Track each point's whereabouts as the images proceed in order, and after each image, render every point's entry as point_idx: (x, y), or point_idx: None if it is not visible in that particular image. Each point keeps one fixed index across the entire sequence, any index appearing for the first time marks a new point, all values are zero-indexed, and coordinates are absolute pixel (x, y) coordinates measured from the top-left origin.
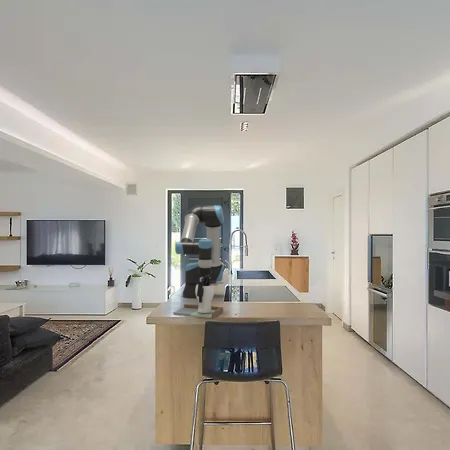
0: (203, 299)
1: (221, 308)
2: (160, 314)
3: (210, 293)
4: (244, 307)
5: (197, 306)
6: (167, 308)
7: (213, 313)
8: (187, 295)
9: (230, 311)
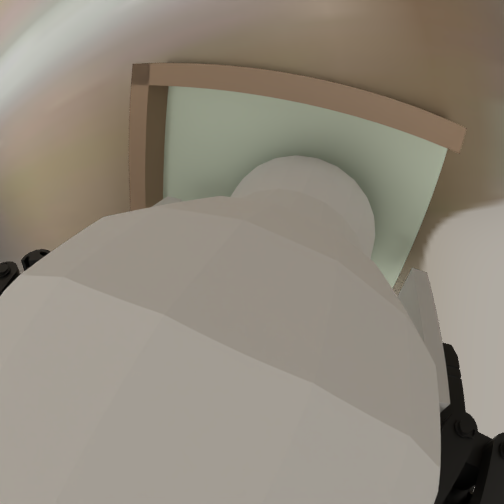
0: (434, 358)
1: (175, 63)
2: None
3: (416, 345)
4: (28, 7)
5: None
6: None
7: (464, 129)
8: None
9: (122, 20)
